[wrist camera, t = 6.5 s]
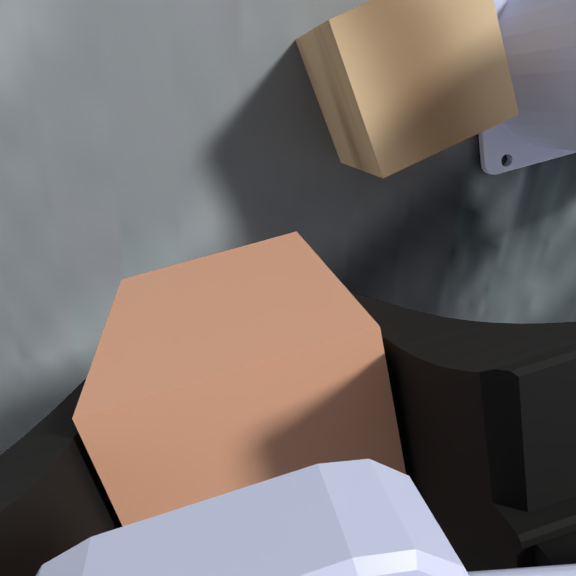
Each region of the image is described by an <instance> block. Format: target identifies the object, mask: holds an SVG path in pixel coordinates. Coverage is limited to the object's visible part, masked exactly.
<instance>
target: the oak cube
mask: <svg viewBox="0 0 576 576" xmlns="http://www.w3.org/2000/svg"><path fill="white" fill-rule="evenodd" d="M295 41H296V44H297V46H298V49H299V52H300V54H301V57H302V60H303V62H304V65H305V68H306V70H307V73H308V76H309V79H310V81H311V84H312V87H313V89H314V92H315V95H316V97H317V100H318V103H319V105H320V108H321V111H322V113H323V116H324V119H325V121H326V124H327V127H328V130H329V132H330V135H331V138H332V140H333V143H334V146H335V148H336V151H337V154H338V156H339V159H340V162H341V163H343V164H345V165H348V166H351V167H354V168H356V169H359V170H362V171H364V172H367V173H370V174H372V175H375V176H378V177H381V178H385V177H387V176H390V175H392V174H394V173H396V172H398V171H400V170H402V169H404V168H407V167H409V166H411V165H413V164H415V163H417V162H419V161H421V160H424V159H426V158H428V157H430V156H432V155H434V154H436V153H438V152H441V151H443V150H445V149H447V148H449V147H451V146H453V145H455V144H458V143H460V142H462V141H464V140H466V139H468V138H470V137H472V136H475V135H477V134H479V133H481V132H483V131H485V130H487V129H489V128H492V127H494V126H496V125H498V124H500V123H502V122H504V121H506V120H509V119H511V118H513V117H515V116H517V115H519V112H518V107H517V103H516V98H515V94H514V89H513V85H512V80H511V76H510V71H509V67H508V62H507V58H506V53H505V49H504V44H503V40H502V35H501V31H500V27H499V22H498V18H497V13H496V9H495V4H494V0H371V1H369V2H367V3H364V4H362V5H360V6H358V7H356V8H353V9H351V10H349V11H347V12H345V13H343V14H340V15H338V16H336V17H334V18H332V19H330V20H328V21H326V22H324V23H323V24H321V25H319V26H318V27H316V28H314V29H313V30H311V31H309V32H308V33H306V34H304V35H303V36H301V37H299V38H298V39H296V40H295Z"/></svg>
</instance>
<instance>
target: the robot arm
mask: <svg viewBox="0 0 576 576" xmlns="http://www.w3.org/2000/svg"><path fill="white" fill-rule="evenodd" d="M494 4H495V9H496V13H497V18H498V22H499V27H500V31H501V35H502V40H503V44H504V49H505V53H506V58H507V62H508V67H509V71H510V76H511V80H512V85H513V89H514V94H515V98H516V103H517V107H518V112H519V115H517V116H515V117H513V118H511V119H509V120H506V121H504V122H502V123H500V124H498V125H496V126H494V127H492V128H489V129H487V130H485V131H483V132H481V133H479V134H478V135H479V146H480V158H481V167H482V170H483V171H484V172H485V173H487V174H491V175H497V174H501V173H504V172H508V171H511V170H515V169H519V168H522V167H526V166H530V165H533V164H537V163H540V162H544V161H548V160H551V159H555V158H559V157H562V156H566V155H569V154H573V153H576V0H494ZM504 155H506V156H507V161H506V163H505V164H504V165H502V163H501V160H502V157H503V156H504ZM351 294H352V295H353V296H354V297H355V299H356V300H357V301H358V302H359V303H360V304H361V305H362V307H363V308H364V309H365V310H366V311H367V312H368V313H369V315H370V316H371V317H372V318H373V319H374V320H375V321H376V323H377V324H378V325H379V326H380V329H381V335H382V340H383V346H384V352H385V357H386V363H387V369H388V374H389V380H390V386H391V391H392V397H393V403H394V408H395V414H396V420H397V425H398V431H399V437H400V443H401V448H402V454H403V460H404V465H405V471H406V474H404V473H401V472H399V471H397V470H394V469H392V468H390V467H387V466H385V465H383V464H380V463H378V462H376V461H373V460H371V459H361V460H351V461H341V462H330V463H320V464H315V465H312V466H309V467H306V468H303V469H300V470H297V471H294V472H290V473H287V474H284V475H281V476H278V477H275V478H272V479H269V480H266V481H263V482H259V483H256V484H253V485H250V486H247V487H244V488H241V489H238V490H235V491H232V492H228V493H225V494H222V495H219V496H216V497H213V498H210V499H207V500H204V501H201V502H197V503H194V504H191V505H188V506H185V507H182V508H179V509H176V510H173V511H170V512H166V513H163V514H160V515H157V516H154V517H151V518H148V519H145V520H142V521H139V522H135V523H132V524H129V525H126V526H122V524H121V522H120V520H119V518H118V516H117V513H116V511H115V509H114V507H113V505H112V503H111V501H110V499H109V496H108V494H107V492H106V490H105V488H104V486H103V484H102V481H101V479H100V477H99V475H98V473H97V471H96V469H95V466H94V464H93V462H92V460H91V458H90V456H89V454H88V451H87V449H86V447H85V445H84V443H83V441H82V439H81V437H80V434H79V432H78V430H77V428H76V426H75V424H74V422H73V419H72V417H73V415H74V412H75V409H76V406H77V403H78V401H79V398H80V395H81V392H82V389H83V387H84V384H85V381H86V379H85V380H84V381H83V382H82V383H81V384H80V385H79V386H78V387H77V388H76V389H75V390H74V391H73V392H72V393H71V394H70V395H69V396H68V397H67V398H66V399H65V400H63V401H62V402H61V403H60V404H59V405H58V406H57V407H56V408H55V409H54V410H53V411H52V412H51V413H50V414H49V415H47V416H46V417H45V418H44V419H43V420H42V421H41V422H40V423H39V424H37V425H36V426H35V427H34V428H33V429H32V430H31V431H30V432H28V433H27V434H26V435H25V436H24V437H23V438H22V439H20V440H19V441H18V442H17V443H16V444H14V445H13V446H12V447H11V448H9V449H8V450H7V451H6V452H4V453H3V454H2V455H0V576H576V322H564V323H545V324H511V323H488V322H476V321H467V320H460V319H452V318H446V317H440V316H435V315H430V314H426V313H421V312H417V311H413V310H409V309H405V308H402V307H398V306H395V305H391V304H388V303H385V302H382V301H378V300H375V299H372V298H369V297H366V296H362V295H359V294H355V293H351Z"/></svg>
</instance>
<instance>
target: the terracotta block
mask: <svg viewBox="0 0 576 576" xmlns="http://www.w3.org/2000/svg"><path fill="white" fill-rule="evenodd" d="M72 419H73V422H74V424H75V426H76V428H77V430H78V432H79V434H80V437H81V439H82V441H83V443H84V445H85V447H86V449H87V451H88V454H89V456H90V458H91V460H92V462H93V464H94V466H95V469H96V471H97V473H98V475H99V477H100V479H101V481H102V484H103V486H104V488H105V490H106V492H107V494H108V496H109V499H110V501H111V503H112V505H113V507H114V509H115V511H116V513H117V516H118V518H119V520H120V522H121V524H122V526H126V525H129V524H132V523H135V522H139V521H142V520H145V519H148V518H151V517H154V516H157V515H160V514H163V513H166V512H170V511H173V510H176V509H179V508H182V507H185V506H188V505H191V504H194V503H197V502H201V501H204V500H207V499H210V498H213V497H216V496H219V495H222V494H225V493H228V492H232V491H235V490H238V489H241V488H244V487H247V486H250V485H253V484H256V483H259V482H263V481H266V480H269V479H272V478H275V477H278V476H281V475H284V474H287V473H290V472H294V471H297V470H300V469H303V468H306V467H309V466H312V465H315V464H320V463H330V462H341V461H351V460H361V459H371V460H373V461H376V462H378V463H380V464H383V465H385V466H387V467H390V468H392V469H394V470H397V471H399V472H401V473H404V474H406V471H405V465H404V460H403V454H402V448H401V443H400V437H399V431H398V425H397V420H396V414H395V408H394V403H393V397H392V391H391V386H390V380H389V374H388V369H387V363H386V357H385V352H384V346H383V340H382V335H381V329H380V326H379V325H378V324H377V323H376V321H375V320H374V319H373V318H372V317H371V316H370V315H369V313H368V312H367V311H366V310H365V309H364V308H363V307H362V305H361V304H360V303H359V302H358V301H357V300H356V299H355V297H354V296H353V295H352V294H351V293H350V292H349V291H348V289H347V288H346V287H345V286H344V285H343V284H342V283H341V281H340V280H339V279H338V278H337V277H336V276H335V275H334V273H333V272H332V271H331V270H330V269H329V268H328V267H327V266H326V264H325V263H324V262H323V261H322V260H321V259H320V258H319V256H318V255H317V254H316V253H315V252H314V251H313V250H312V248H311V247H310V246H309V245H308V244H307V243H306V242H305V240H304V239H303V238H302V237H301V236H300V235H299V234H298V232H297V231H296V232H292V233H289V234H285V235H282V236H278V237H274V238H271V239H267V240H263V241H260V242H256V243H252V244H249V245H245V246H242V247H238V248H234V249H231V250H227V251H223V252H220V253H216V254H212V255H209V256H205V257H202V258H198V259H194V260H191V261H187V262H183V263H180V264H176V265H173V266H169V267H165V268H162V269H158V270H154V271H151V272H147V273H143V274H140V275H136V276H133V277H129V278H125V279H122V280H121V283H120V286H119V288H118V291H117V294H116V297H115V300H114V302H113V305H112V308H111V311H110V314H109V316H108V319H107V322H106V325H105V328H104V331H103V333H102V336H101V339H100V342H99V345H98V347H97V350H96V353H95V356H94V359H93V361H92V364H91V367H90V370H89V373H88V375H87V378H86V381H85V384H84V387H83V389H82V392H81V395H80V398H79V401H78V403H77V406H76V409H75V412H74V415H73V417H72Z"/></svg>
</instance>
